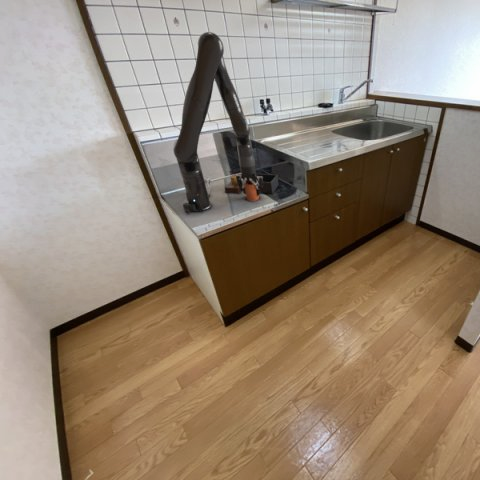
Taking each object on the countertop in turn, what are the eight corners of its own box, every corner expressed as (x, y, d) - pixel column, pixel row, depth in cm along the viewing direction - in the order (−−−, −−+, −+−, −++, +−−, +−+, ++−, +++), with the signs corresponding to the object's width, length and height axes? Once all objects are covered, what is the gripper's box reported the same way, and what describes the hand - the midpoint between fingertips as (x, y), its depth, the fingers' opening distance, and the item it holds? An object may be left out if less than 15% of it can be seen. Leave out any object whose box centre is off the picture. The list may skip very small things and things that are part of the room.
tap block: (239, 193, 150) (238, 188, 148) (225, 192, 151) (224, 187, 149) (246, 185, 159) (245, 180, 157) (233, 184, 160) (232, 179, 158)
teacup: (198, 202, 141) (193, 188, 136) (186, 197, 146) (182, 183, 142) (220, 193, 150) (217, 179, 145) (209, 188, 155) (205, 175, 151)
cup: (256, 201, 142) (253, 185, 137) (244, 200, 143) (242, 184, 137) (260, 196, 147) (258, 180, 142) (249, 195, 148) (246, 179, 143)
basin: (272, 193, 149) (271, 182, 146) (248, 191, 151) (246, 181, 148) (278, 185, 159) (277, 174, 155) (255, 183, 161) (254, 173, 157)
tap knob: (237, 185, 151) (235, 177, 148) (230, 185, 152) (228, 176, 149) (240, 182, 154) (238, 174, 152) (233, 182, 155) (231, 174, 152)
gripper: (230, 165, 132) (236, 196, 142) (258, 167, 130) (262, 198, 139) (236, 160, 138) (242, 190, 148) (263, 162, 136) (267, 192, 146)
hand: (252, 194), depth 143 cm, fingers closed on cup, 6 cm apart
